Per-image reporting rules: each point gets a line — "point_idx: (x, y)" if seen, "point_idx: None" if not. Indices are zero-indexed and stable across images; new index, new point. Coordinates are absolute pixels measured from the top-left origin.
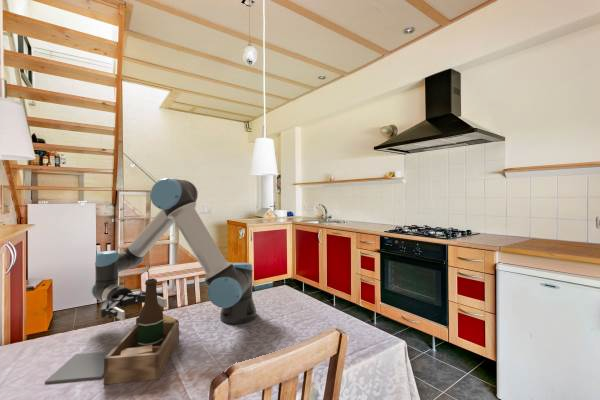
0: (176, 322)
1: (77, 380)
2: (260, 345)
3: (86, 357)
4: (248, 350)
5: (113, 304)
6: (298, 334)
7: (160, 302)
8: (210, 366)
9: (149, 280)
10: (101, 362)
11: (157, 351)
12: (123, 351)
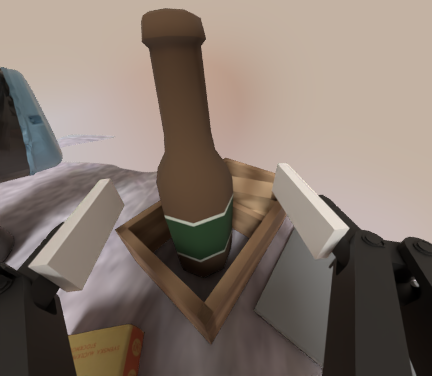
0: (125, 226)
1: None
2: (106, 174)
3: None
4: (123, 174)
5: (388, 320)
6: (63, 167)
7: (103, 221)
8: None
9: (169, 20)
10: (305, 278)
11: (224, 161)
12: (267, 194)
